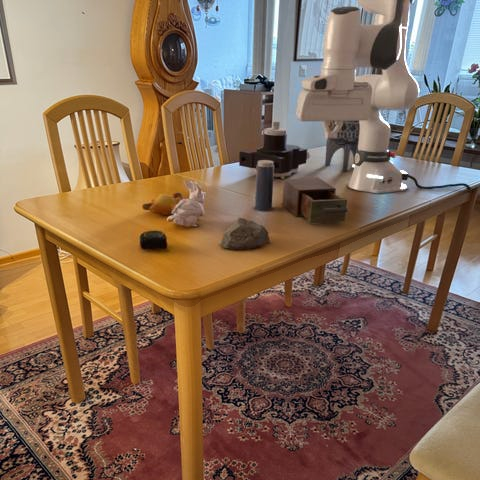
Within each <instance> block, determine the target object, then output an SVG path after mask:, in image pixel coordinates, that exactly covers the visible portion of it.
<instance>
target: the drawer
mask: <svg viewBox="0 0 480 480" xmlns="http://www.w3.org/2000/svg"><path fill="white" fill-rule="evenodd" d="M347 206H348V199H347V198H342V197H341V196H339V195H338V194H336V193H335V194H334V193H333V192H331V191H317V192H301V193H300V205H299V212H300V213H301V214H302V215H303V216H302V217H304V218H306V219H307V220H308V224H311V225H315V224H329V223H331V224H332V223H345V221H346V214H347V213H348V211H349V208H348V207H347Z"/></svg>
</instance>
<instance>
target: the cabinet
mask: <svg viewBox="0 0 480 480" xmlns="http://www.w3.org/2000/svg"><path fill="white" fill-rule="evenodd" d="M282 188H283V189H282V205H283V206H284V208H286V209H287V210H288V211H290V213H291V214H292V215H294V216H295V217H296V218H299V217H304V216H303V215H302V214H301V213H300V212H299V205H300V193H301V192H317V191H331V192H333V193H334V194H336V191H337V188H336V187H335V186H332V185H331V184H329V183H327V182H326V181H324V180H323V179H321V178H319V177H311V178H310V177H308V178H284V179H283V186H282Z"/></svg>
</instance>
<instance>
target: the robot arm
mask: <svg viewBox="0 0 480 480" xmlns="http://www.w3.org/2000/svg"><path fill="white" fill-rule="evenodd" d="M356 1H357V3H358V5H359V6H360V7H361V8H360V7H357V6H351V5H349V6H338V7H334V8H332V9H331V10H330V11H329V13H328V16H327V20H326V25H325V30H324V37H323V46H322V52H323V60H322V63H321V68H320V73H318V74H316V75H313V76H310V77H308V78H305V79H303V80H302V81H301V88H302V91H300V93H299V94H298V98H297V103H296V105H297V106H296V110H295V111H296V112H295V116H296V119H297V120H298V121H300V122H322V123H321V125H322V128H323V130H324V139H325V140H327V139H337V135H338V132H339V130H340V129H341V127H342V126H343V121H359V124H360V132H359V142H358V148H357V149H356V155H355V165H354V164H352V168H353V170H352V173H351V177H350V180H349V182H348V184H347V187H348V188H350V189H352V190H355V191H359V192H367V193H373V194H386V193H395V192H403V191H407V190H408V186H407V185H406V184H404V183H403V181H408V179H411V180H412V181H413V182H414V185H415V186H416V187H417V188H418V189H423V190H425V189H426V190H433V189H435V190H436V189H444V188H451V187H465V188H467V189H468V190H469V189H471V186H470V185H469V184H467V183H464V182H461V183H449V184H442V185H432V186H423V185H420V184H419V183H418V179H416V177H415V176H413V175H410V174H409V173H408V172H406V171H405V170H400V169H399V168H398V167H397V166H396V165H395V164H394V163H393V162H392V160H391V158H392V159H396V157H397V153H396V152H395V151H389V145H390V140H391V134H392V129H391V126H390V124H389V123H388V122H387V121H385V120H384V119H383V117H382V115H381V111H382V110H384V111H395V112H398V111H405V110H409V109H410V108H412V107H413V106H414V104H415V103H416V102H417V99H418V97H419V93H420V88H419V84H418V82H417V80H416V78H414V77H413V75H412V74H411V73H410V71H409V68H408V65H407V62H406V61H407V60H406V44H407V43H406V42H407V35H408V34H407V33H408V27H409V18H410V5H413V4H414V2H415V0H356ZM361 9H362V10H364V11H365V12H367V13H369V14H374V19H373V24H362V22H361V21H362V10H361ZM357 68H360V69H361V68H364V69H365V68H366V69H376V70H381V71H382V74H373V73H372V74H371V73H367V74H360V75H357V76H356V73H357ZM330 121H335V124H336V127H335V128H334V130H333V131H330V130H329V127H328V126H330Z"/></svg>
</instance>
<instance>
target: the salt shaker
mask: <svg viewBox="0 0 480 480" xmlns="http://www.w3.org/2000/svg"><path fill="white" fill-rule="evenodd" d="M255 173H256V174H255V199H254V201H255V202H254V209H255V210H257V211H261V212H267V211H268V212H269V211H271V210H272V209H273V197H274V196H273V195H274V178H275V177H274V165H273V161H270V160H260V161H258V165H257V169H255Z"/></svg>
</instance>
